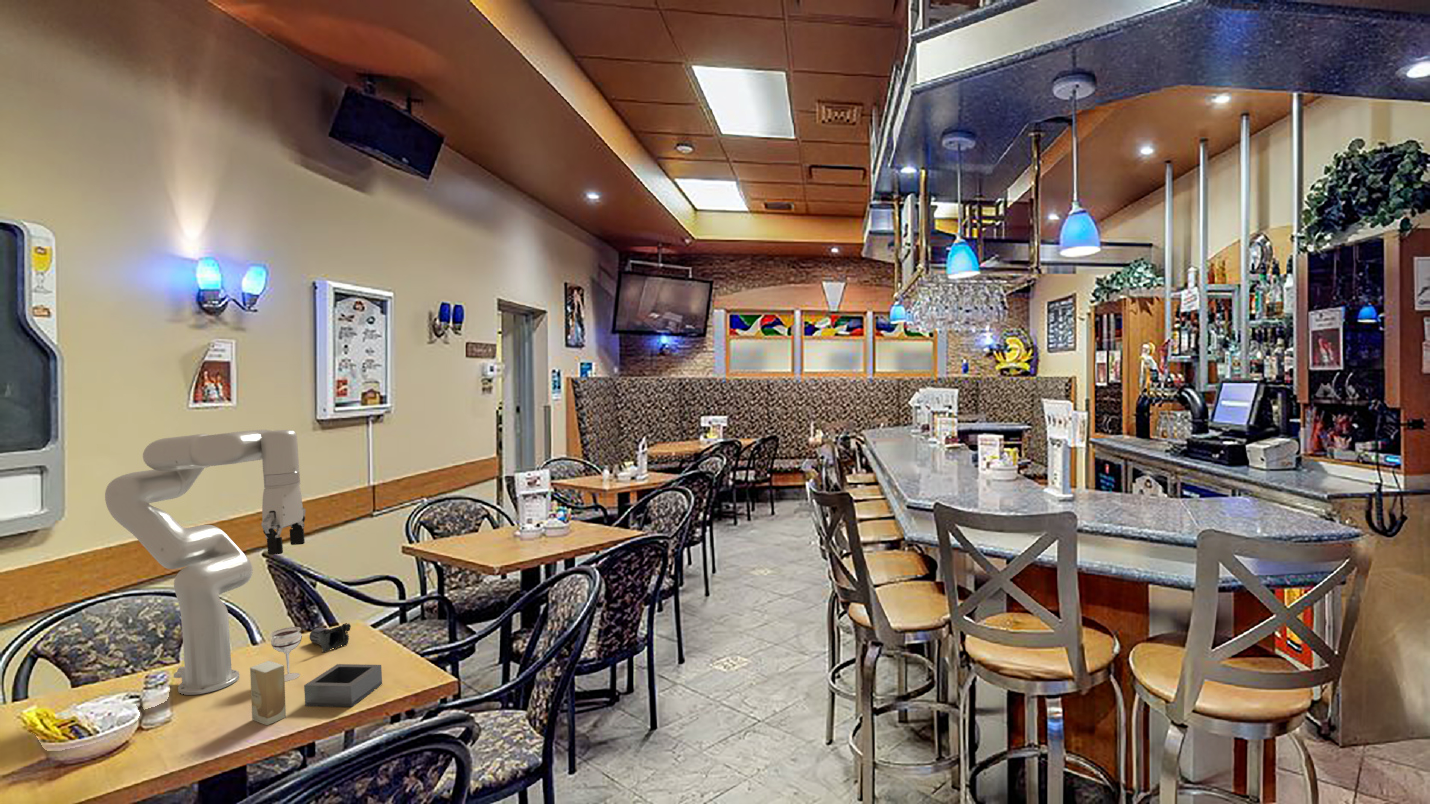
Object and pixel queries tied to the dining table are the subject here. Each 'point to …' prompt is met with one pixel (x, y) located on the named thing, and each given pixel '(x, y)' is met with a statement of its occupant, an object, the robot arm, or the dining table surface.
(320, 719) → the dining table surface
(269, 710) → the skincare box
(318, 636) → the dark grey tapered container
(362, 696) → the rectangular box socket
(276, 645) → the wineglass
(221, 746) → the dining table surface
